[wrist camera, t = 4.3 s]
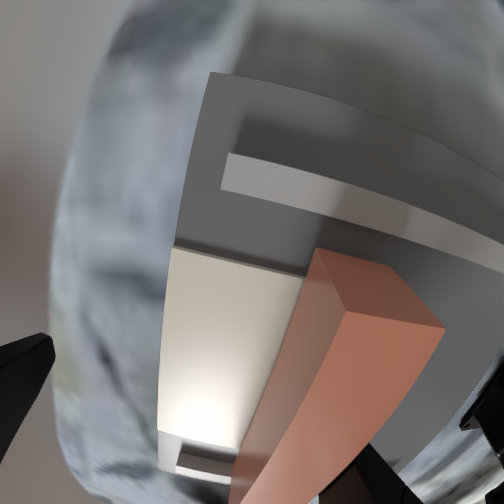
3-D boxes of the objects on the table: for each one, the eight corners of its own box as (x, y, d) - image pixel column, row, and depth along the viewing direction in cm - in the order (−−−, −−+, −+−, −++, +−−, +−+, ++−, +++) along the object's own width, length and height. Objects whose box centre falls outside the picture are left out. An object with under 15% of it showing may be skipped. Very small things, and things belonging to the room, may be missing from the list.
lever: (389, 266, 7) (446, 328, 4) (277, 472, 10) (277, 526, 7) (315, 247, 7) (346, 311, 4) (232, 466, 10) (225, 522, 7)
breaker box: (516, 204, 9) (566, 224, 6) (372, 458, 14) (382, 497, 11) (224, 91, 8) (203, 62, 5) (168, 435, 14) (155, 480, 11)
